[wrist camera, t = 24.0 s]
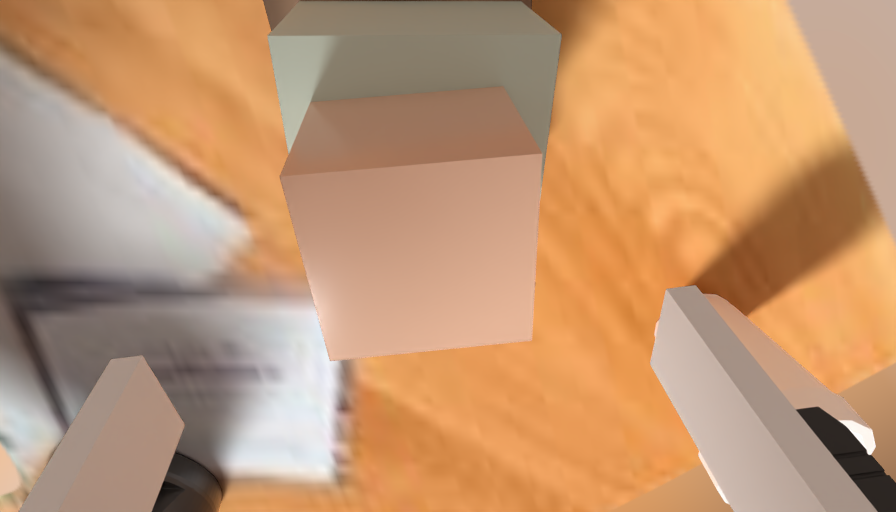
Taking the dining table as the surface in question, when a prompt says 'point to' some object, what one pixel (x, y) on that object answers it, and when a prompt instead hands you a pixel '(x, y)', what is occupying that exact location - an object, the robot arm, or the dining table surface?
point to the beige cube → (417, 220)
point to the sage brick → (414, 55)
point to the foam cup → (787, 376)
